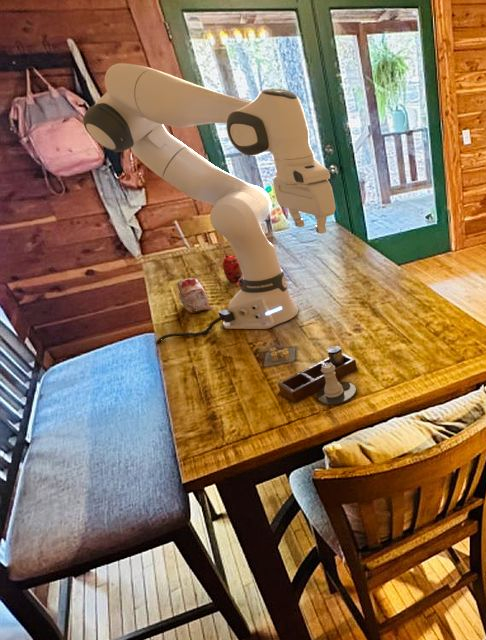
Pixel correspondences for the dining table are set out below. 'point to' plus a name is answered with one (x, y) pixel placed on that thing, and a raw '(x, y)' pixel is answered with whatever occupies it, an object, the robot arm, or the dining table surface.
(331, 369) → the rook chess piece
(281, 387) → the spice rack
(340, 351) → the spice tin
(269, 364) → the dice set
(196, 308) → the food item
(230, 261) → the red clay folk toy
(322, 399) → the coaster
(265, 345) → the dining table surface
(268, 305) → the robot arm
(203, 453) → the dining table surface
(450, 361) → the dining table surface
